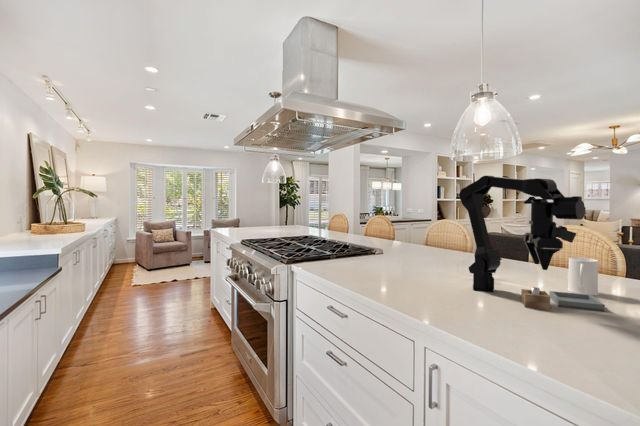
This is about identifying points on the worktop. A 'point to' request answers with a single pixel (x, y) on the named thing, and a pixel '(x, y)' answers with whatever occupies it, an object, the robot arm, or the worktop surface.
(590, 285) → the mug
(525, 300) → the brown square socket block
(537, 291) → the post
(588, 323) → the worktop surface
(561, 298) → the tray
